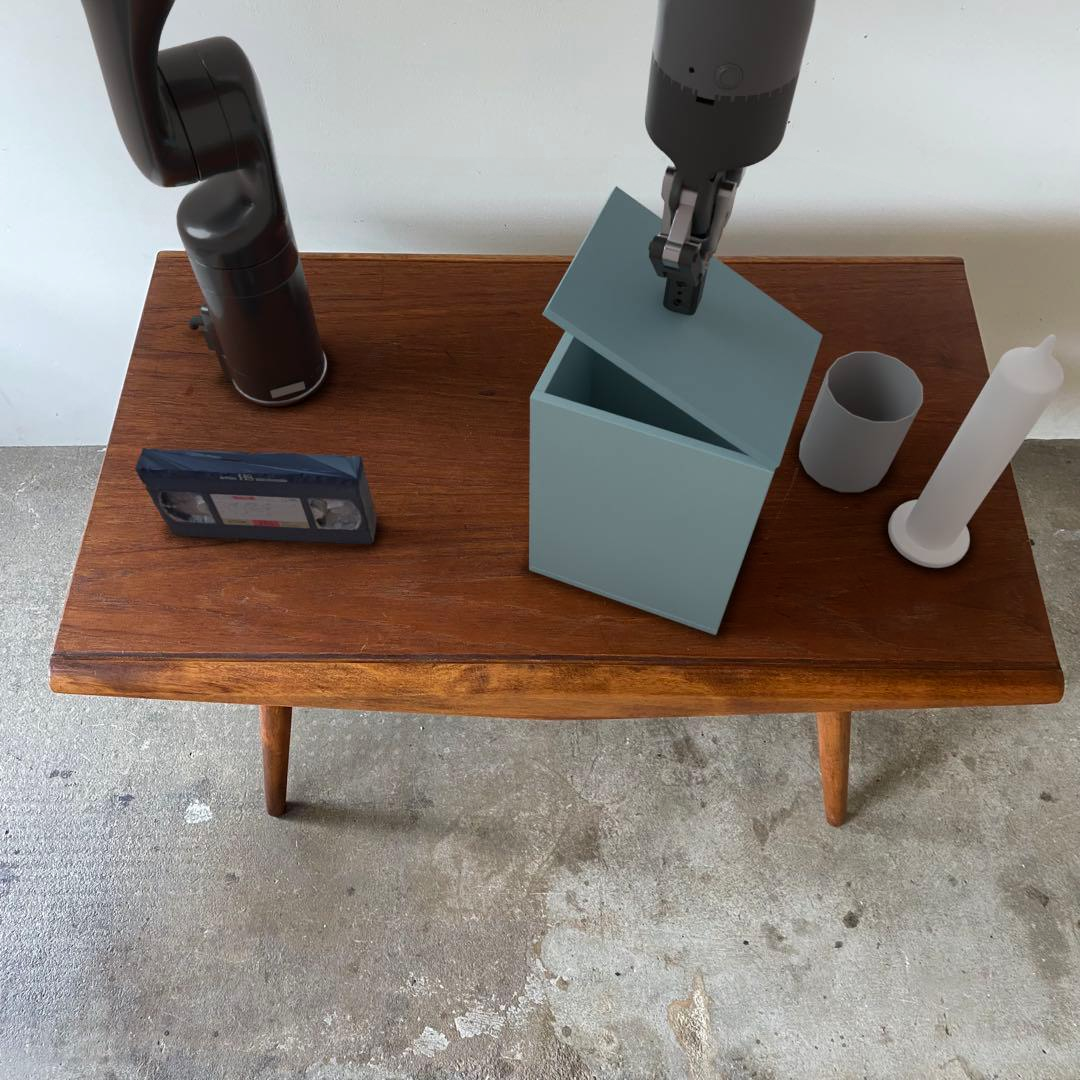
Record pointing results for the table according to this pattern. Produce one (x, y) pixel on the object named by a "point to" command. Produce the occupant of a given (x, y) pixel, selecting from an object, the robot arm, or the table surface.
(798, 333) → the lid
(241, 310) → the robot arm
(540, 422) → the chest
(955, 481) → the candle
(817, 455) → the cup
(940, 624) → the table surface
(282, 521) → the vhs cassette tape
